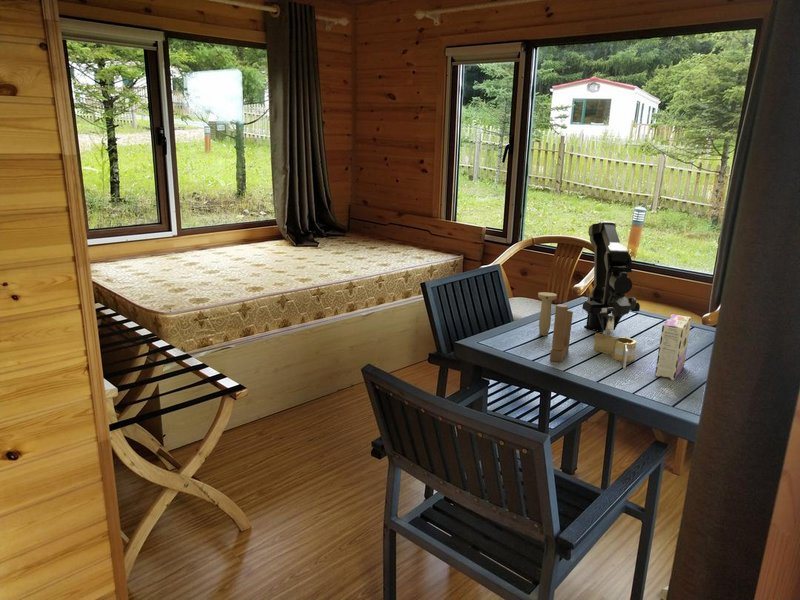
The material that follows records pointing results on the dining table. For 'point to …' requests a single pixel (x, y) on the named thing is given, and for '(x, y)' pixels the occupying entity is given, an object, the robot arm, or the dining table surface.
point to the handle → (545, 312)
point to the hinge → (616, 347)
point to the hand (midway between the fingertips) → (608, 330)
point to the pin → (609, 325)
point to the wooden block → (561, 333)
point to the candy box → (673, 346)
